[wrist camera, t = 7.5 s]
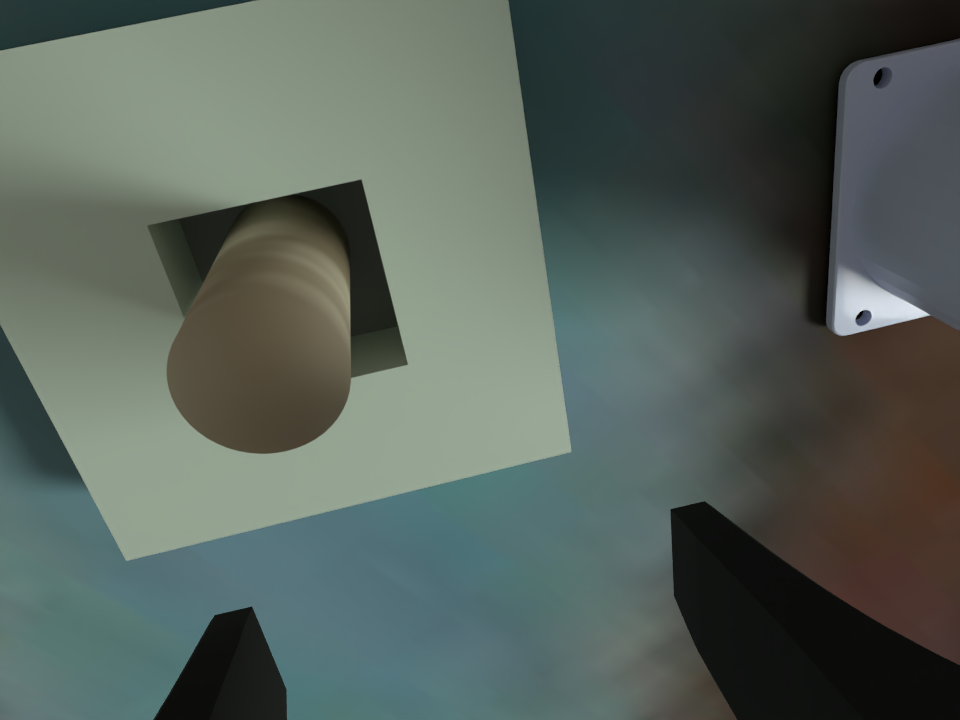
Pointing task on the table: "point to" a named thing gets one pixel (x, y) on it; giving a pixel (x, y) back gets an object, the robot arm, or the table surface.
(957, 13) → the table surface
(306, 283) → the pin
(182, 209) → the block
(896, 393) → the table surface
